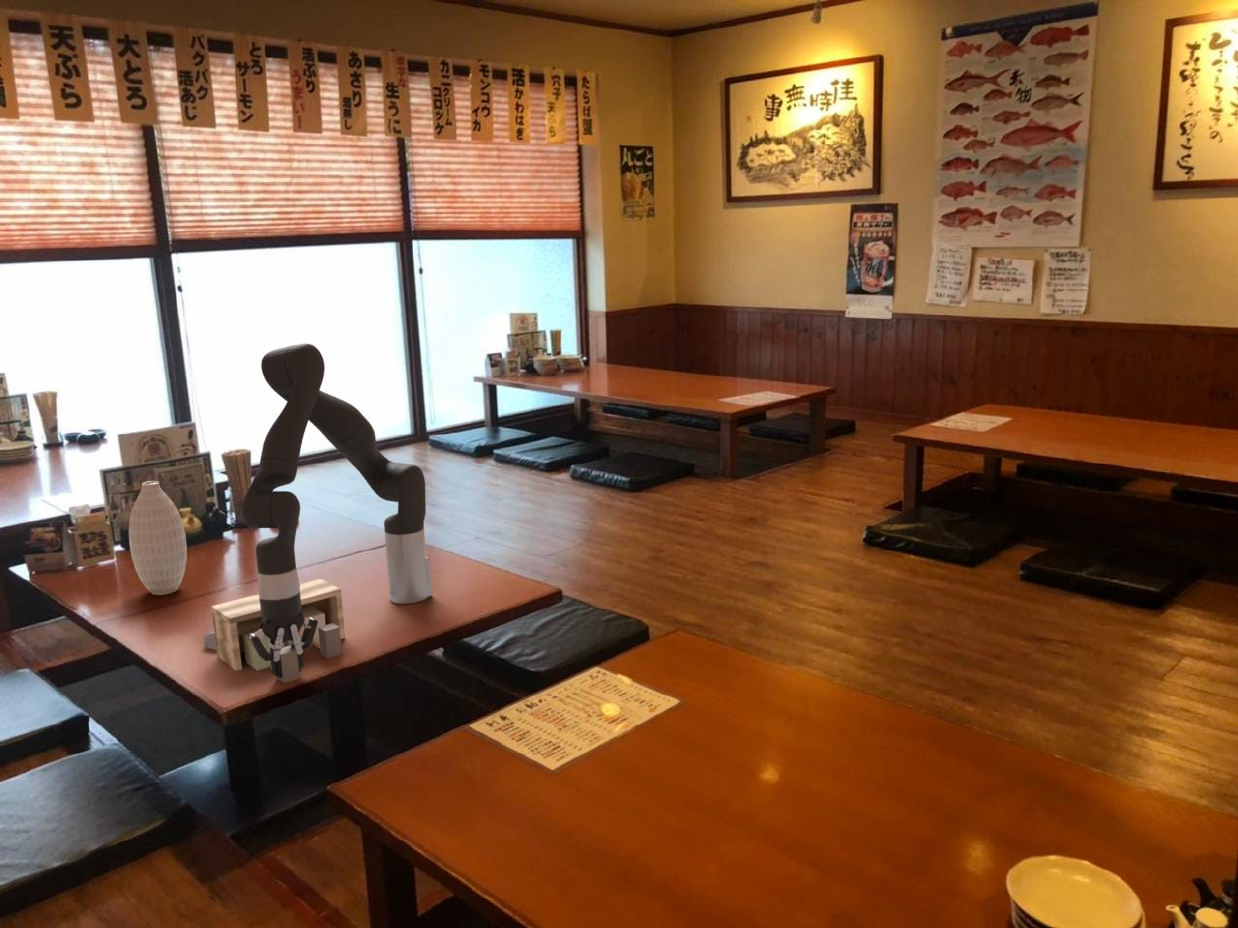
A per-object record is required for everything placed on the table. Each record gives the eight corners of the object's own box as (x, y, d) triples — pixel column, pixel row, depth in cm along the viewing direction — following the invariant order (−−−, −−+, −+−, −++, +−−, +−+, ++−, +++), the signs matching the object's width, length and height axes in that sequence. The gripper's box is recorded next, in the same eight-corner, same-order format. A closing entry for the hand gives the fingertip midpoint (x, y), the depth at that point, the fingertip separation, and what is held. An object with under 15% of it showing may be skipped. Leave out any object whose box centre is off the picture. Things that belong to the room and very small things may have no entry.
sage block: (245, 661, 204) (242, 634, 202) (274, 653, 207) (271, 626, 206) (277, 685, 192) (274, 656, 191) (306, 676, 196) (303, 648, 195)
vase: (193, 580, 256) (180, 474, 250) (189, 595, 245) (175, 485, 238) (140, 586, 253) (125, 479, 246) (133, 602, 241) (117, 490, 235)
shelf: (217, 656, 207) (211, 606, 204) (324, 625, 222) (319, 578, 220) (235, 670, 199) (229, 618, 197) (345, 637, 215) (340, 588, 213)
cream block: (288, 639, 215) (286, 613, 214) (314, 632, 219) (312, 606, 217) (321, 660, 203) (318, 633, 202) (348, 651, 207) (345, 625, 206)
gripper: (305, 578, 198) (313, 658, 202) (235, 595, 189) (245, 678, 193) (322, 587, 193) (329, 669, 197) (251, 605, 184) (260, 691, 188)
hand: (287, 673), depth 195 cm, fingers closed on sage block, 3 cm apart
